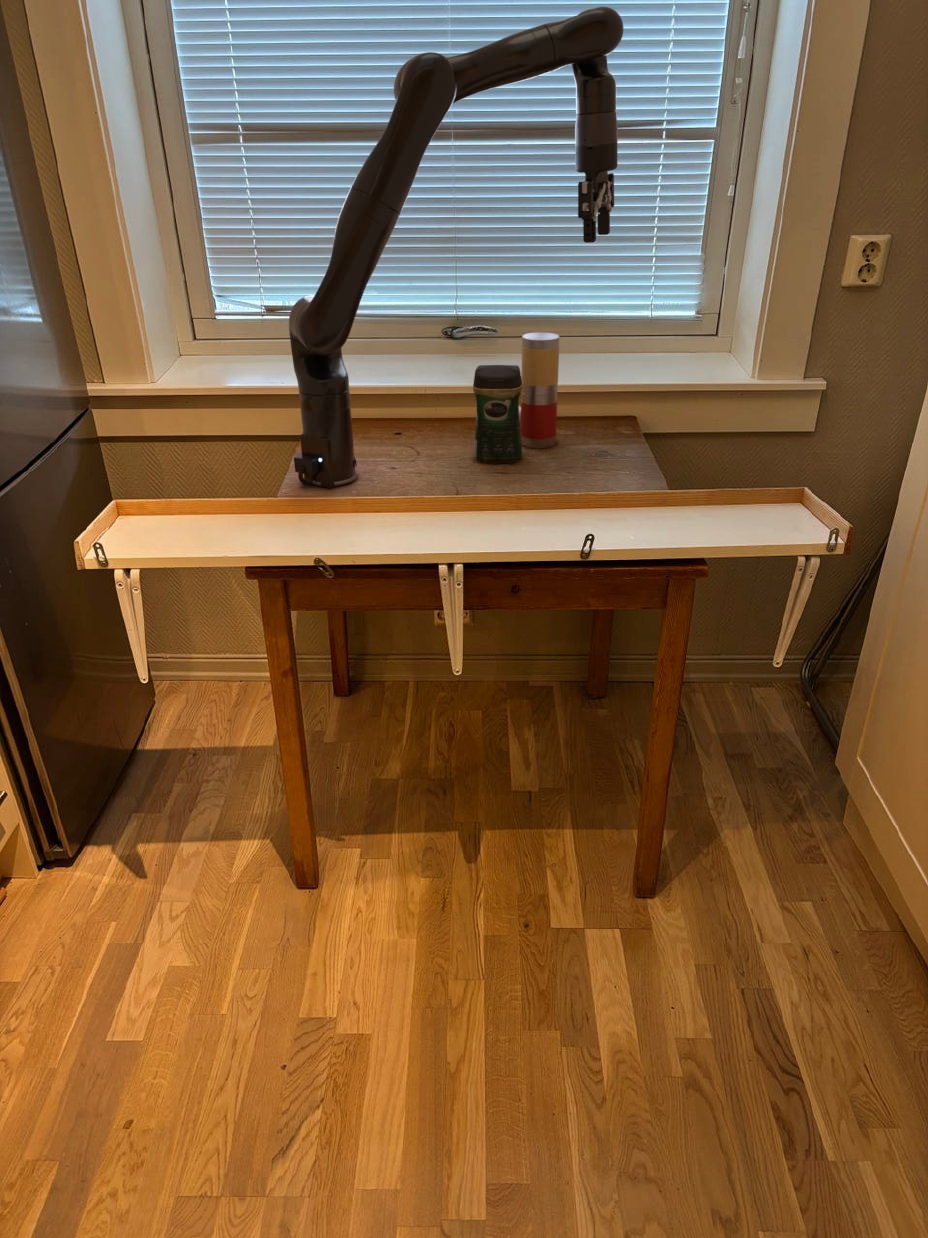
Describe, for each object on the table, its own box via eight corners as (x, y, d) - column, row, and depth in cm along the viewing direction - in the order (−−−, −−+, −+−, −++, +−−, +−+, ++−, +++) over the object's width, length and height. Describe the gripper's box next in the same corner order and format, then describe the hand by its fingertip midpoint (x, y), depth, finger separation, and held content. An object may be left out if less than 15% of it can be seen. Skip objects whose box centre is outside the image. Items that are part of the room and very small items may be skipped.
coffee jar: (522, 452, 187) (524, 360, 178) (520, 465, 180) (521, 370, 171) (475, 451, 188) (475, 360, 179) (471, 463, 181) (470, 369, 172)
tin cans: (546, 450, 188) (549, 341, 177) (514, 445, 191) (515, 337, 181) (561, 440, 194) (565, 334, 183) (529, 435, 197) (532, 330, 186)
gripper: (588, 139, 170) (589, 232, 178) (563, 145, 159) (565, 245, 167) (627, 136, 167) (626, 231, 175) (604, 143, 156) (604, 244, 164)
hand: (596, 238), depth 171 cm, fingers open, 8 cm apart
